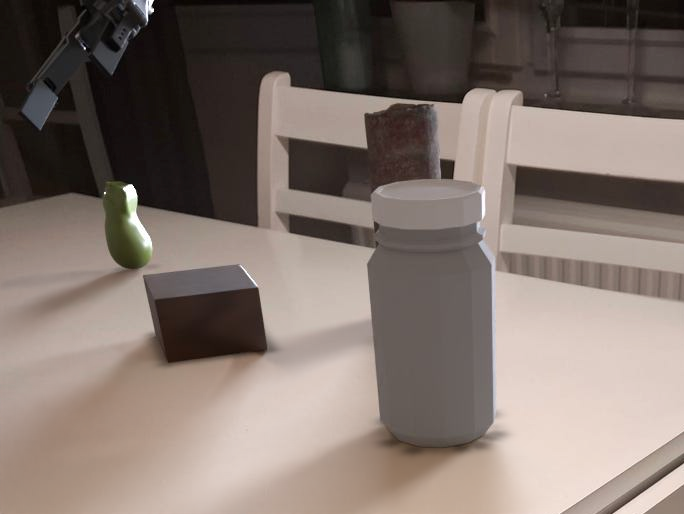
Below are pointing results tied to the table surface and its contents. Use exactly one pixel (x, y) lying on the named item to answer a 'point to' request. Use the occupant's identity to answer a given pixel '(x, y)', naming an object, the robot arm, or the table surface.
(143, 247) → the pear
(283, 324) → the table surface
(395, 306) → the jar
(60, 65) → the robot arm
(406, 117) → the candle
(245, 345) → the block
